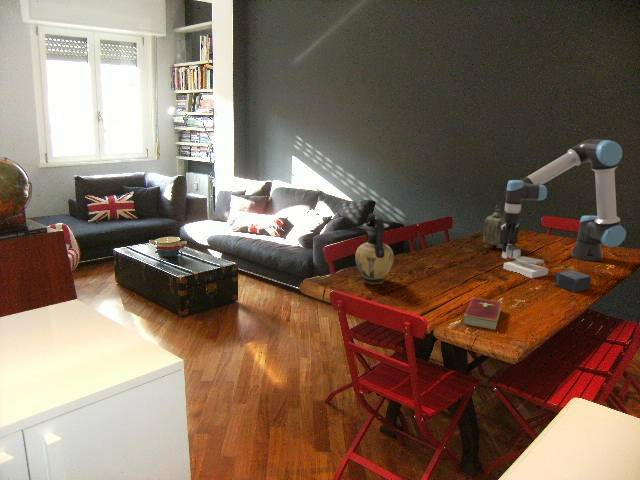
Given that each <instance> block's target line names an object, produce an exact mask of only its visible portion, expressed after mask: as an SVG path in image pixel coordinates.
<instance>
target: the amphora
mask: <svg viewBox="0 0 640 480" xmlns="http://www.w3.org/2000/svg"><path fill="white" fill-rule="evenodd" d="M366 221H367V222H365V223H363V224H362V226H363V228H365V231H366V239H365V242H363V243H362V244H360V245H359V246H358V247H357V249H356V251H355V255H354V256H355V258H354V260H355V265H356V267H357V270H358V271H359V273H360V275H361V276H362V277H363V279H362V281H363V282H365V283H366V284H370V285H376V284H377V285H378V284H382V283H384V281H385V280H384V279H385V277H386V276H387V275H388V273H389V272H390V271H391V269H392V267H393V263H394V251H393V249H392V248H391V247H390V246H389V245H388V244H386V243H384V242H383V240H384V238H383V237H384V234H385V232H386V229H389V227H390V225H389V224H388V223H384V222H385V221H384V219H383V218H382V217H376V215H375V214H374V213H369V214H368V216H367V219H366Z"/></svg>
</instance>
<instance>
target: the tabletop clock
mask: <svg viewBox="0 0 640 480" xmlns="http://www.w3.org/2000/svg"><path fill="white" fill-rule="evenodd" d="M500 209H501V205H500V203H498V204H496V206H495V212H493V213H492V214H491V215H488V216H487V217H486V218H485V220H484V225H483V226H484V227H483V233H482V234H483V235H482V241H483V242H487V244H486V245H484V248H485V249H487V248H488V246H489V244H490V245H492V246H494V244H496V245H495V248H496V249H499V248H498V244H500V225H501V226H502V225H504V222H505V219H504V218H503V217H504V216H503V215H502V213H501V212H500Z"/></svg>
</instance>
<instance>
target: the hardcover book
mask: <svg viewBox="0 0 640 480" xmlns="http://www.w3.org/2000/svg"><path fill="white" fill-rule="evenodd" d="M503 305H504V302H503V301H497V300H490V299H484V298H480V297H479V298H477V297H471V299H470V301H469V304H468V306H467V308H466V309H465V312H464V314H463V317H462V320H461V322H462V325H469V326H474V327H480V328H485V329H489V330H496V329H497V325H498V322H499V319H500V314H501V311H502V307H503Z"/></svg>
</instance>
